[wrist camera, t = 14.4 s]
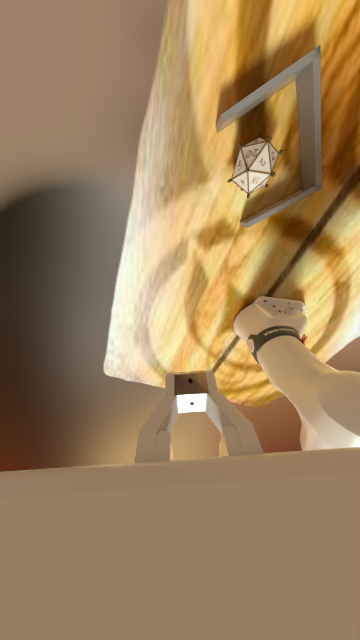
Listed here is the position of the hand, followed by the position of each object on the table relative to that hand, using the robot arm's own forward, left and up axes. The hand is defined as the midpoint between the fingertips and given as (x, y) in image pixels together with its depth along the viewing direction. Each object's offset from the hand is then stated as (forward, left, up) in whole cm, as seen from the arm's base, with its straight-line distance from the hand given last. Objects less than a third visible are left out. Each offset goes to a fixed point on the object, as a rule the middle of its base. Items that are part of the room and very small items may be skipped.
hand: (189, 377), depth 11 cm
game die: (-15, -16, -37) cm, 43 cm away
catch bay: (-19, -17, -37) cm, 45 cm away
